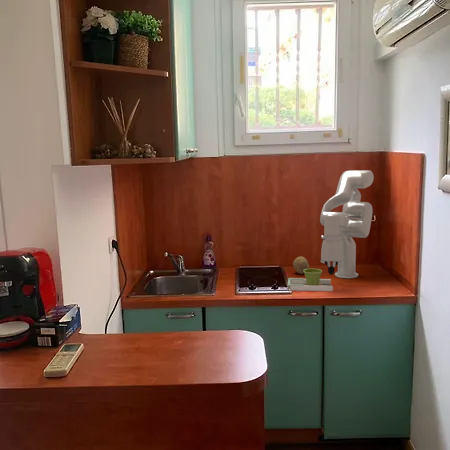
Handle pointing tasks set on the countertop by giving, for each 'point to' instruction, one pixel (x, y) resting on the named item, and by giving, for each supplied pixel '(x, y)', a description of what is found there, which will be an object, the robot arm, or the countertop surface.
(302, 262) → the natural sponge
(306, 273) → the plant pot
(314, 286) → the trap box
